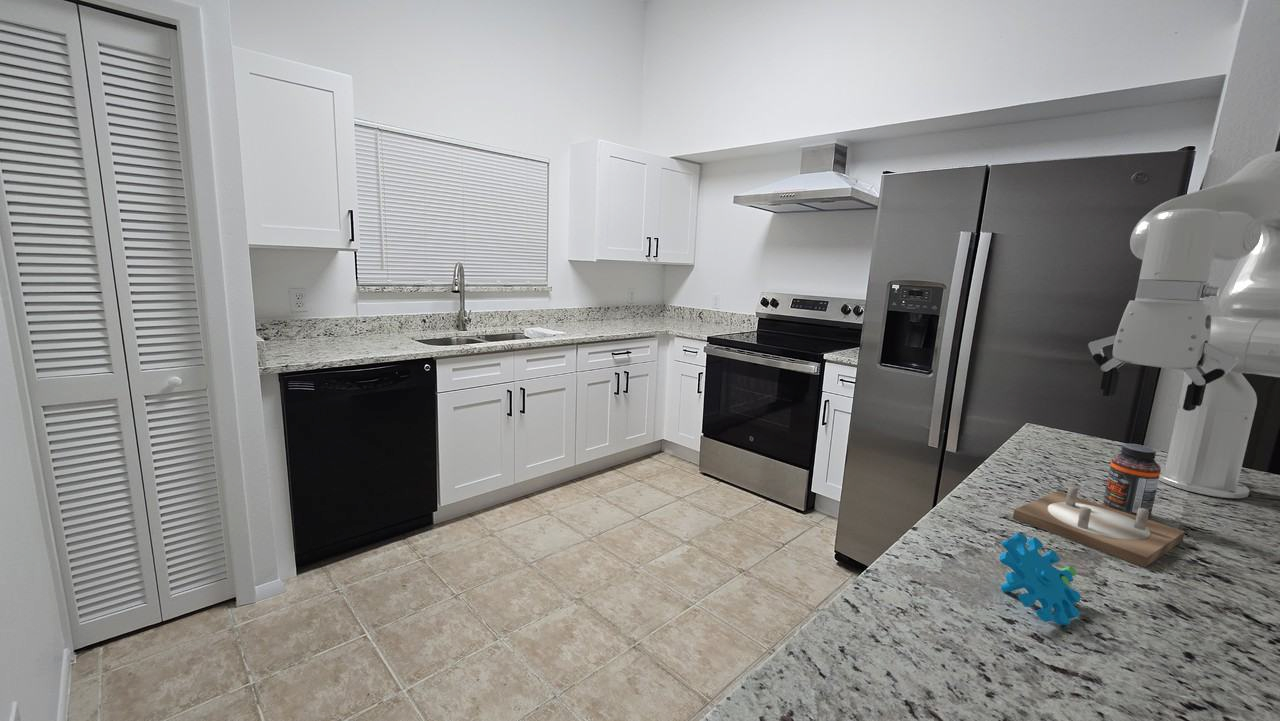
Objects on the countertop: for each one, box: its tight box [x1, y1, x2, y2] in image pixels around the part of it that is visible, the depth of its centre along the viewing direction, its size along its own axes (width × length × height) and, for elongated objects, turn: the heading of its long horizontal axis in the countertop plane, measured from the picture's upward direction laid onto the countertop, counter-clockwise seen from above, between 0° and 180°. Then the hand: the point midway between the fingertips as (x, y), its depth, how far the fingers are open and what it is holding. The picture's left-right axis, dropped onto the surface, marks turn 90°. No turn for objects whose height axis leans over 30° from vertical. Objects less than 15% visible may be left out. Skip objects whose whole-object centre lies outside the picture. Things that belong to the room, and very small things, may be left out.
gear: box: [999, 533, 1081, 626], centre depth 63 cm, size 11×6×10 cm
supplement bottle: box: [1102, 443, 1161, 519], centre depth 87 cm, size 6×6×11 cm
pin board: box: [1012, 486, 1186, 569], centre depth 82 cm, size 15×16×4 cm
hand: (1147, 402), depth 85 cm, fingers open, 9 cm apart
